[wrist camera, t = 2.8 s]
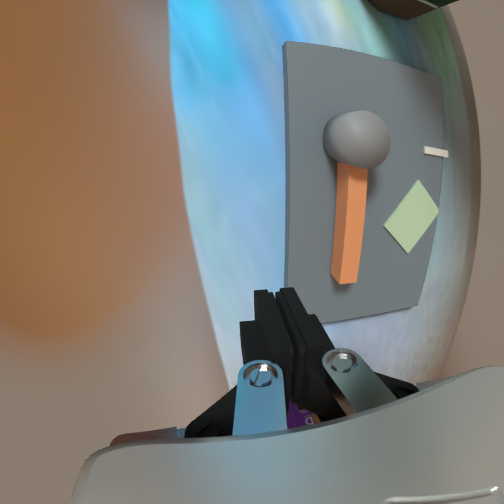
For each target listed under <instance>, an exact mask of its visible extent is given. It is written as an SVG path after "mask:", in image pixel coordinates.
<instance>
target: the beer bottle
mask: <svg viewBox="0 0 504 504" xmlns="http://www.w3.org/2000/svg"><path fill="white" fill-rule="evenodd" d="M368 1H369V2H370V3H372V4H373V5H374V6H375V7H376V8H377V9H378V10H379V11H380V12H384V13H387V14H391V15H394V16H397V17H400V18H403V19H407V20H409V19H411V18H414V17H417V16H420V15H422V14H425V13H427V12H429V11H432V10H434V9H437V8H439V7H442V6H444V5H447V4H450V3H452V2H455V1H458V0H368Z"/></svg>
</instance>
